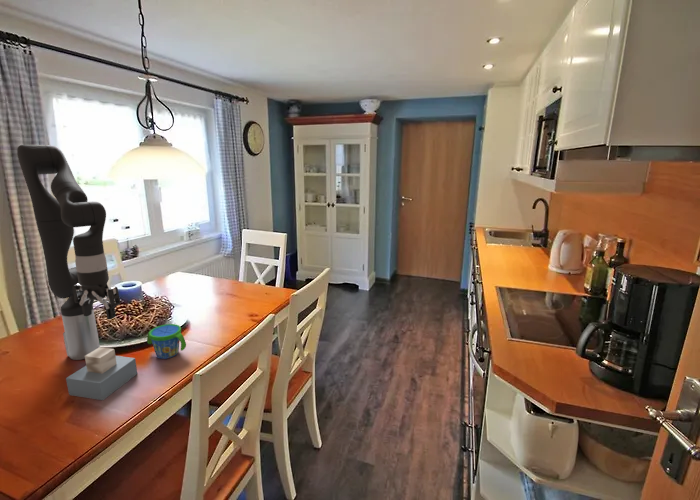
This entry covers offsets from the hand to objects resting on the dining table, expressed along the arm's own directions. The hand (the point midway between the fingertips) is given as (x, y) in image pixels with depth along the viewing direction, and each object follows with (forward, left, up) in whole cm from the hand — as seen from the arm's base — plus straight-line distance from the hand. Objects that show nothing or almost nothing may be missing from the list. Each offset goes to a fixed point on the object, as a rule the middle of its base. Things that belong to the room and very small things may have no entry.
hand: (99, 316), depth 109 cm
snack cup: (+8, +18, -24) cm, 31 cm away
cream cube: (0, -1, -17) cm, 17 cm away
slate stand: (0, -2, -23) cm, 23 cm away
